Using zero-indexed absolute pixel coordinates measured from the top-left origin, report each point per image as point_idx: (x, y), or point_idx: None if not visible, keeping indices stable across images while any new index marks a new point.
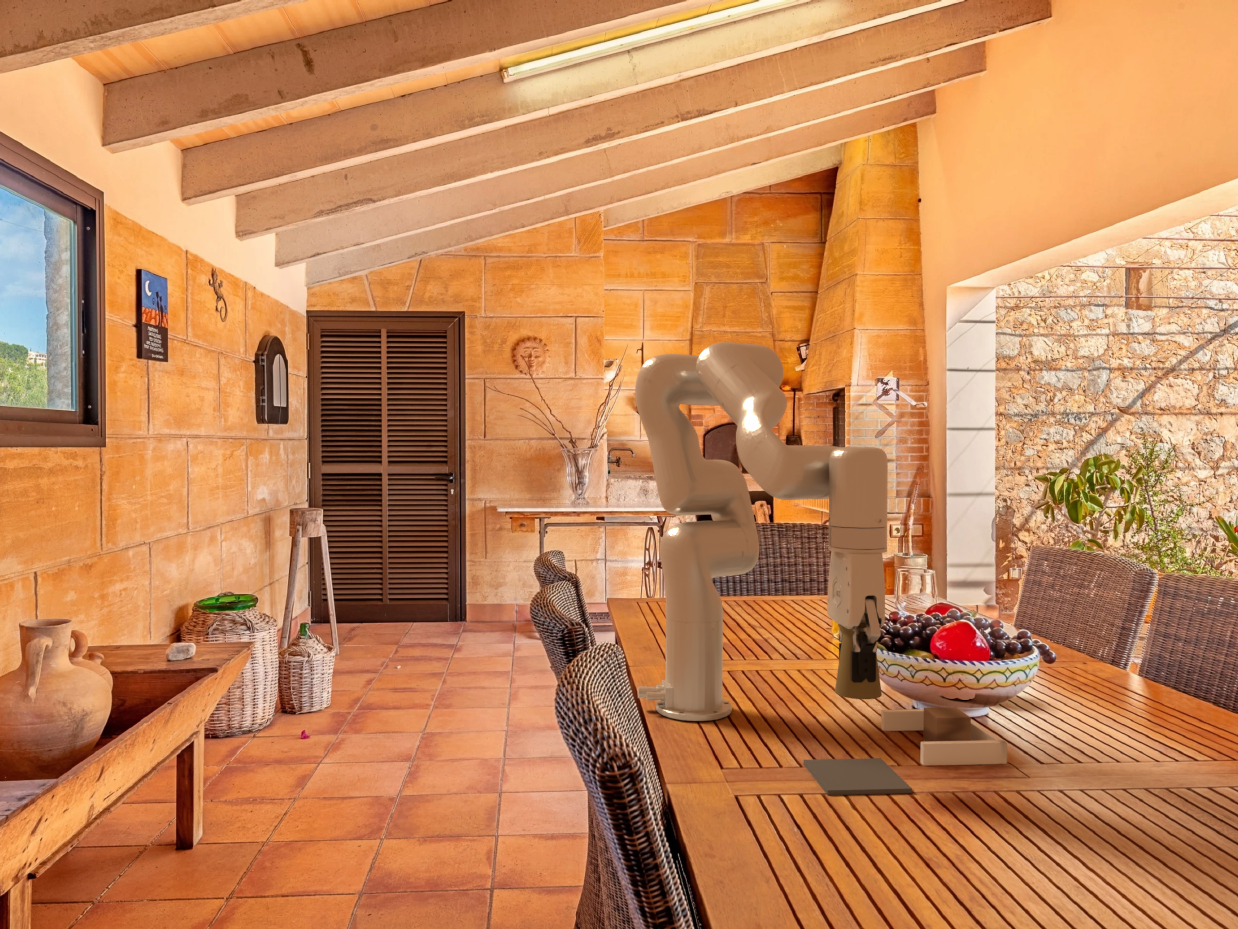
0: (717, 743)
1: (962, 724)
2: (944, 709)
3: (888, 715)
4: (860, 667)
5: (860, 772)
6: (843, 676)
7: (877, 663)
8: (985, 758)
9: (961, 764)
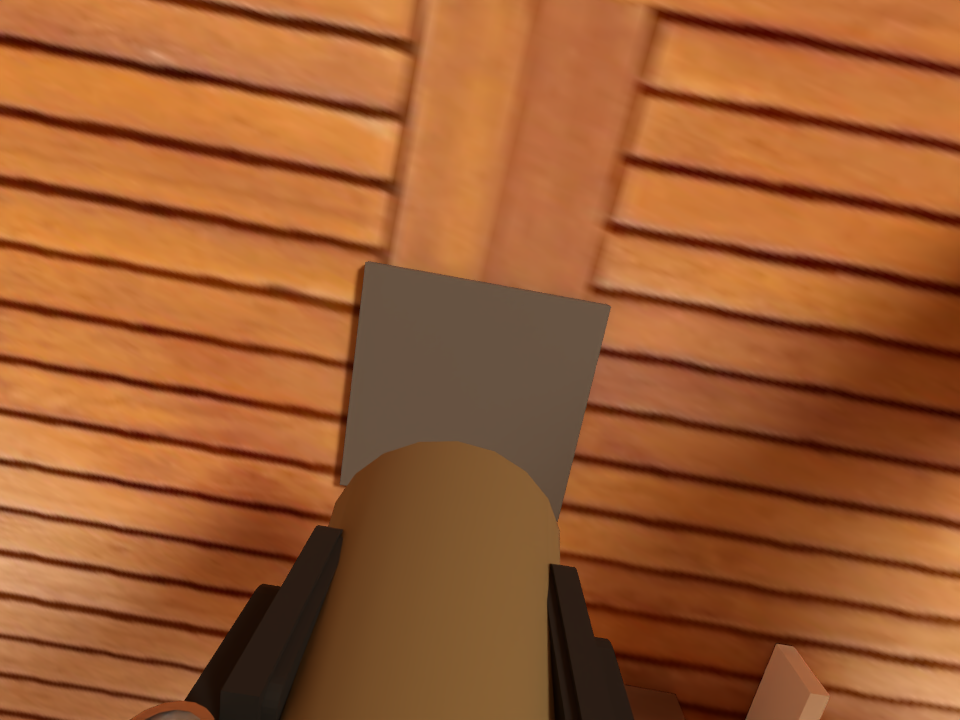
0: (892, 94)
1: None
2: None
3: (798, 694)
4: (233, 627)
5: (472, 417)
6: (391, 514)
7: None
8: None
9: None
